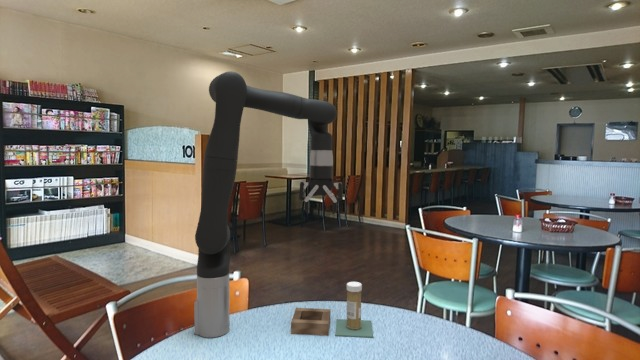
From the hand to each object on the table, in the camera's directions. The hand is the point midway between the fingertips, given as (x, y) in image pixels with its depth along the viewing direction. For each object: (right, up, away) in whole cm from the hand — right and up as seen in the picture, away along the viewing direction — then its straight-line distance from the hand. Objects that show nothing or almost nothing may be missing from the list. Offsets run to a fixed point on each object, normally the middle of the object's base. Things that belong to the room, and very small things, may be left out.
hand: (320, 213), depth 129 cm
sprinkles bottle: (+10, -34, -11) cm, 37 cm away
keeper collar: (-3, -34, -10) cm, 35 cm away
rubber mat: (+10, -34, -11) cm, 37 cm away
